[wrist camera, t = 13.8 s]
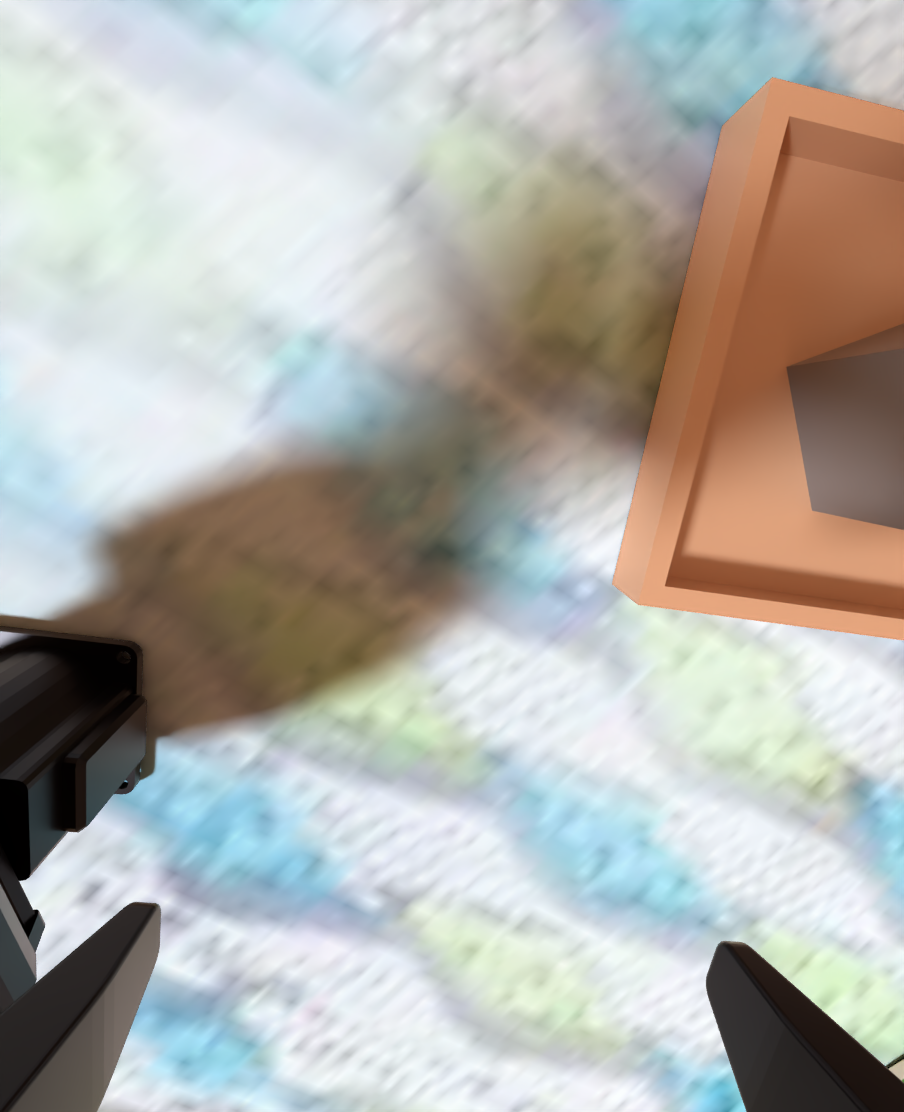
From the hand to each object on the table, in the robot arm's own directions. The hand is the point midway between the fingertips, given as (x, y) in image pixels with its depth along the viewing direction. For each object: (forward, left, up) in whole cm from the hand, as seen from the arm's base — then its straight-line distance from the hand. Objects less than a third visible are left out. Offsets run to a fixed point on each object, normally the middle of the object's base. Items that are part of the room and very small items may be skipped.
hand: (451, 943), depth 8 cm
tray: (+15, +11, -13) cm, 23 cm away
